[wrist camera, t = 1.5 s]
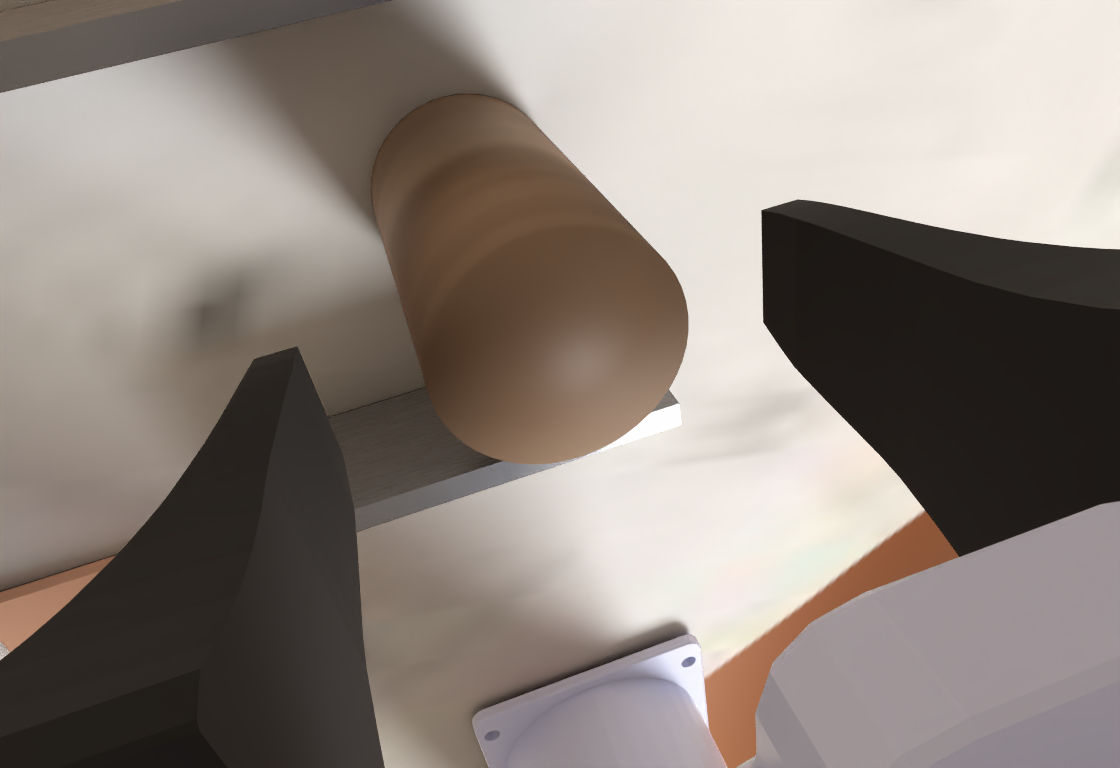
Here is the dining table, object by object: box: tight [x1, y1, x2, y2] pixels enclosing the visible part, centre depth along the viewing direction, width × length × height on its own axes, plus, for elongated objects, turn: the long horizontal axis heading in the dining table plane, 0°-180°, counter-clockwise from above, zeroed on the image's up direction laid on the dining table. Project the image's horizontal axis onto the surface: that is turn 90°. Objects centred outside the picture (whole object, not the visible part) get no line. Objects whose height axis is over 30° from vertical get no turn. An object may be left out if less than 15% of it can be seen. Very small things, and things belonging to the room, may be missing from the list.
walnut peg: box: [371, 94, 688, 464], centre depth 15 cm, size 4×4×7 cm
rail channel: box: [0, 0, 681, 532], centre depth 16 cm, size 12×18×4 cm
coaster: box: [0, 555, 116, 652], centre depth 22 cm, size 7×7×1 cm
